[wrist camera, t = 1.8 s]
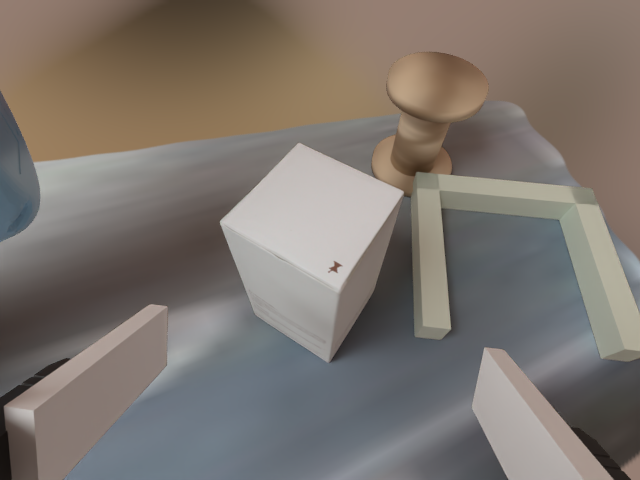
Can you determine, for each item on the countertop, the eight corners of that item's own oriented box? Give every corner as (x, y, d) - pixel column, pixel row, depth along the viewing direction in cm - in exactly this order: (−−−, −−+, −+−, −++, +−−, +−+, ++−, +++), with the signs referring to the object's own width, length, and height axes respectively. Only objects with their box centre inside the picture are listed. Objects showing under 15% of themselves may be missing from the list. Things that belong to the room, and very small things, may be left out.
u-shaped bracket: (414, 336, 28) (422, 326, 26) (410, 189, 36) (416, 171, 34) (628, 361, 27) (654, 352, 25) (575, 205, 35) (591, 188, 33)
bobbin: (369, 193, 36) (387, 107, 27) (372, 137, 40) (388, 48, 31) (451, 201, 35) (495, 116, 27) (445, 144, 40) (481, 55, 31)
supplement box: (376, 290, 30) (411, 191, 19) (328, 366, 27) (339, 297, 16) (303, 247, 32) (299, 137, 22) (250, 313, 29) (214, 221, 18)
